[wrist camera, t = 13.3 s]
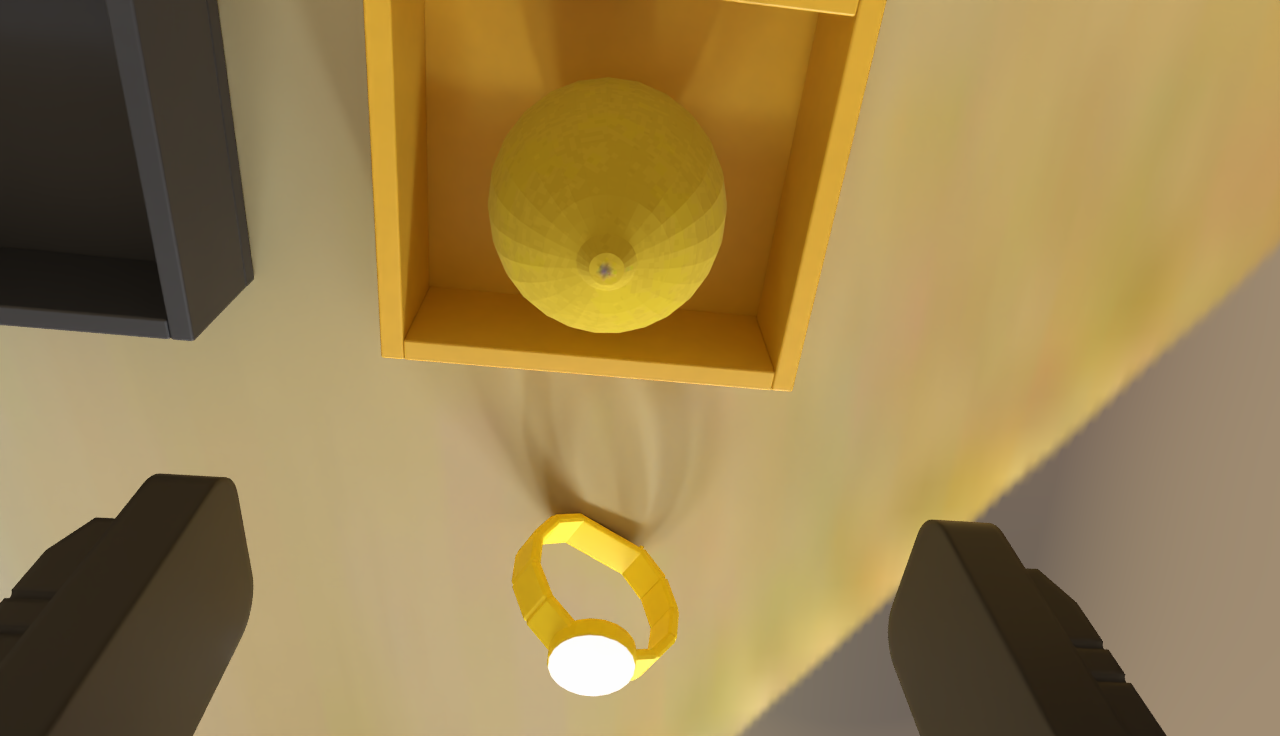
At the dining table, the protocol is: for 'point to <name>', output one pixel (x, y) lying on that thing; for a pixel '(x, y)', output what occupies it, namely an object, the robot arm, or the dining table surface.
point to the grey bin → (118, 168)
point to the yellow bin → (632, 50)
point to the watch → (591, 647)
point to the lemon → (607, 205)
